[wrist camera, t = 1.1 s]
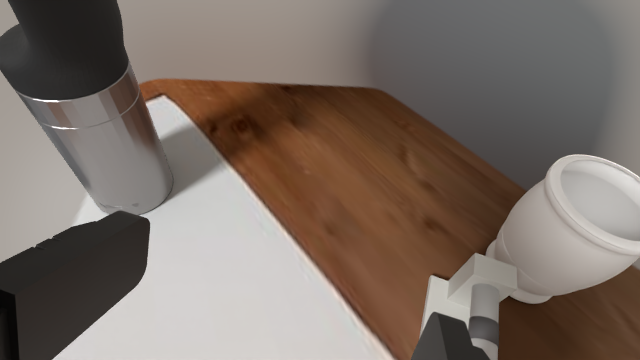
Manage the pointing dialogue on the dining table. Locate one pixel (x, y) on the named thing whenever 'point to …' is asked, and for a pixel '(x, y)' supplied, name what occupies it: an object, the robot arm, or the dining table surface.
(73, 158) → the robot arm
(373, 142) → the dining table surface
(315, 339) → the dining table surface
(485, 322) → the pipe stand
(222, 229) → the dining table surface
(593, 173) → the jar
